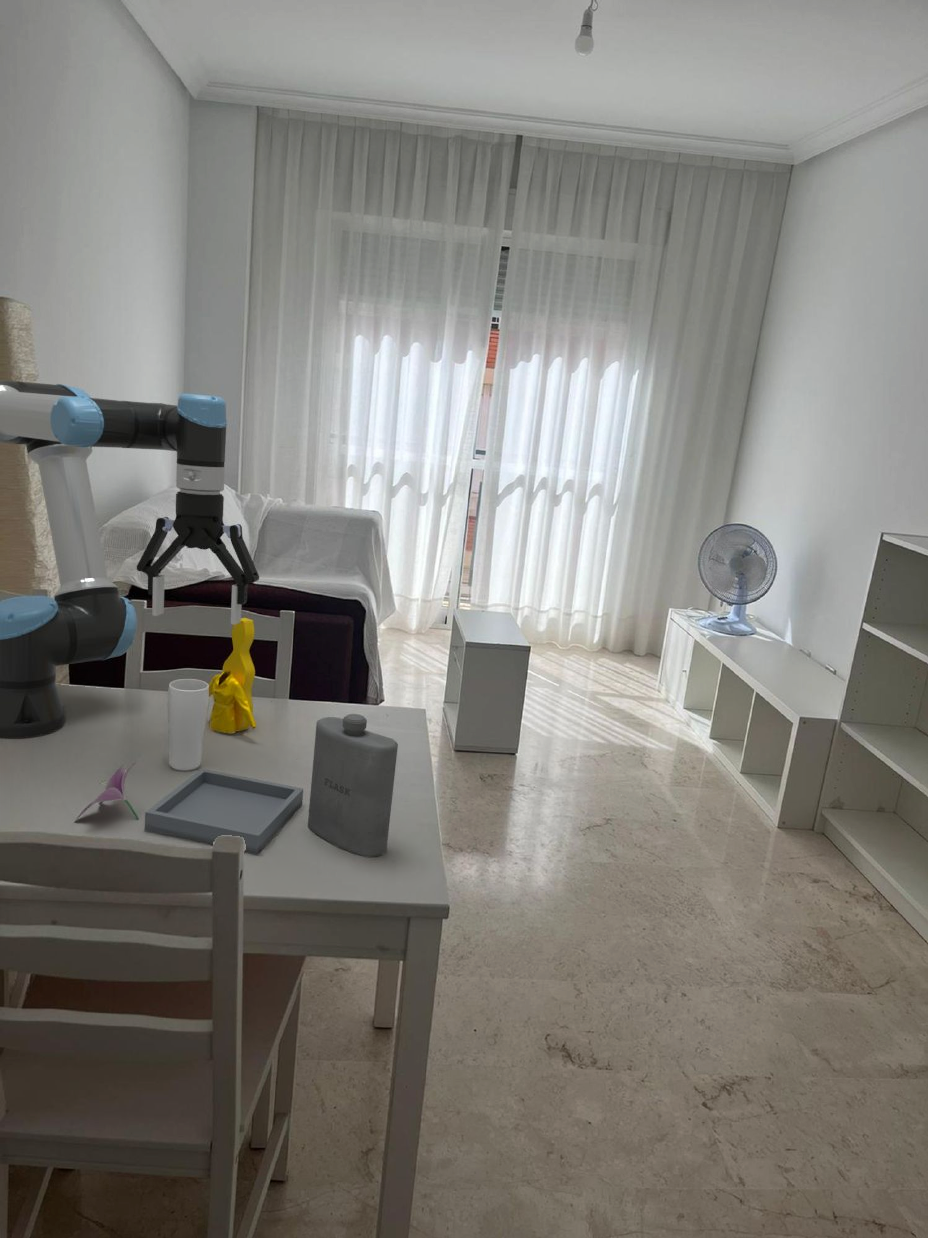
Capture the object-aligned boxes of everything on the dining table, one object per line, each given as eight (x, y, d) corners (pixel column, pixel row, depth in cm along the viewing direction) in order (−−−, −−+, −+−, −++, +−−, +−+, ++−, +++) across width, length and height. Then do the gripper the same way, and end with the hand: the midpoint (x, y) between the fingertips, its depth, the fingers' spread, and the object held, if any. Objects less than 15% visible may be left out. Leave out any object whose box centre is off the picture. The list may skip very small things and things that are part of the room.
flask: (297, 826, 144) (307, 706, 140) (323, 816, 149) (334, 699, 144) (367, 863, 136) (380, 736, 131) (393, 850, 140) (406, 727, 136)
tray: (144, 830, 137) (145, 812, 136) (200, 785, 154) (201, 768, 154) (257, 854, 134) (258, 835, 134) (302, 805, 152) (303, 788, 151)
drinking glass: (193, 776, 157) (197, 693, 154) (157, 769, 158) (160, 686, 155) (211, 762, 164) (216, 682, 160) (176, 755, 165) (180, 676, 162)
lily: (140, 800, 149) (111, 749, 147) (182, 797, 142) (152, 743, 139) (79, 845, 140) (48, 793, 138) (121, 845, 133) (88, 789, 130)
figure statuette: (182, 720, 182) (188, 612, 177) (213, 712, 188) (219, 607, 183) (246, 746, 173) (254, 634, 168) (276, 737, 179) (284, 628, 174)
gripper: (116, 485, 148) (115, 614, 152) (266, 500, 145) (261, 631, 149) (137, 483, 155) (136, 606, 159) (281, 497, 152) (275, 622, 157)
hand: (196, 618), depth 154 cm, fingers open, 13 cm apart
